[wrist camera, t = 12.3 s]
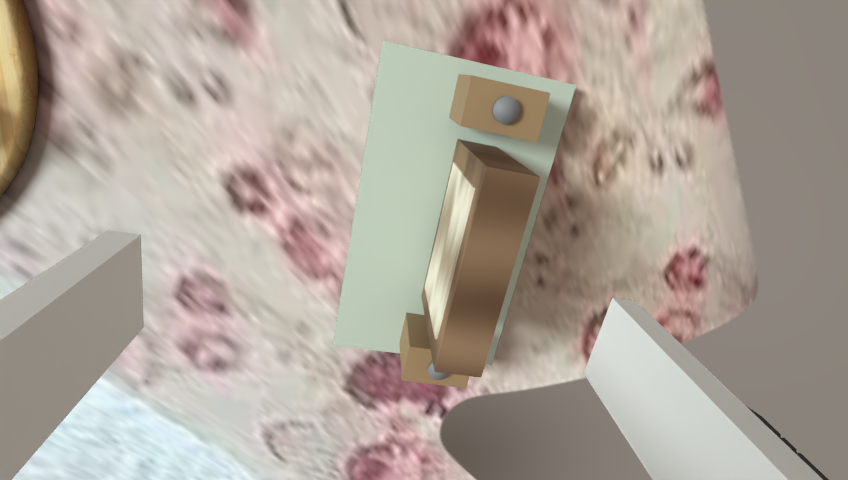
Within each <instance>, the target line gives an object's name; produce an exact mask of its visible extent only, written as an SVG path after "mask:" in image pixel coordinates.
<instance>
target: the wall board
mask: <svg viewBox="0 0 848 480" xmlns="http://www.w3.org/2000/svg"><path fill="white" fill-rule="evenodd" d="M575 88H576V85H573V84H569V83H564V82H560V81H556V80H551V79H547V78H543V77H538V76H534V75H530V74H525V73H521V72H517V71H512V70H508V69H504V68H499V67H495V66H491V65H486V64H482V63H477V62H473V61H469V60H464V59H460V58H456V57H451V56H447V55H443V54H438V53H434V52H430V51H425V50H421V49H417V48H412V47H408V46H404V45H399V44H395V43H391V42H386V41H382V47H381V53H380V60H379V66H378V72H377V78H376V84H375V90H374V96H373V102H372V108H371V115H370V121H369V127H368V133H367V139H366V145H365V151H364V157H363V163H362V170H361V176H360V182H359V188H358V194H357V200H356V206H355V212H354V219H353V225H352V231H351V237H350V243H349V249H348V255H347V261H346V267H345V274H344V280H343V286H342V292H341V298H340V304H339V310H338V316H337V323H336V329H335V335H334V341H333V345H338V346H346V347H354V348H362V349H370V350H378V351H385V352H393V353H400V359H401V374H402V381H410V382H419V383H427V384H436V385H444V386H453V387H462V388H466V386H467V383H468V379H469V376H465V375H457V374H448V373H440V372H434V366H433V360H432V355H431V349H430V343H429V337H428V332H427V326H426V320H425V315H424V309H423V303H422V298H421V295H422V291H423V287H424V282H425V278H426V273H427V269H428V265H429V260H430V256H431V252H432V247H433V243H434V239H435V234H436V230H437V225H438V221H439V217H440V212H441V208H442V204H443V199H444V195H445V191H446V186H447V182H448V177H449V173H450V169H451V164H452V160H453V156H454V151H455V147H456V142H457V139H461V140H466V141H470V142H475V143H480V144H485V145H490V146H495V147H498V148H499V149H500V150H502V151H503V152H505V153H506V154H508V155H509V156H511V157H512V158H514V159H515V160H516V161H518V162H519V163H521V164H522V165H524V166H525V167H527V168H528V169H529V170H531V171H532V172H534V173H535V174H537V175H538V176H540V181H539V184H538V187H537V191H536V194H535V197H534V201H533V204H532V207H531V211H530V214H529V218H528V221H527V224H526V228H525V231H524V234H523V238H522V241H521V244H520V248H519V251H518V255H517V258H516V261H515V265H514V268H513V271H512V275H511V278H510V281H509V285H508V288H507V292H506V295H505V298H504V302H503V305H502V308H501V312H500V315H499V318H498V322H497V325H496V329H495V332H494V335H493V339H492V342H491V345H490V349H489V352H488V355H487V359H486V362H485V364H489V365H492V362H493V358H494V355H495V352H496V349H497V345H498V342H499V339H500V335H501V332H502V329H503V325H504V322H505V319H506V316H507V312H508V309H509V306H510V302H511V299H512V296H513V292H514V289H515V286H516V283H517V279H518V276H519V273H520V269H521V266H522V263H523V259H524V256H525V253H526V250H527V246H528V243H529V240H530V236H531V233H532V230H533V226H534V223H535V220H536V217H537V213H538V210H539V207H540V203H541V200H542V197H543V193H544V190H545V187H546V184H547V180H548V177H549V174H550V170H551V167H552V164H553V160H554V157H555V154H556V151H557V147H558V144H559V141H560V137H561V134H562V131H563V127H564V124H565V121H566V118H567V114H568V111H569V108H570V104H571V101H572V98H573V94H574V91H575Z"/></svg>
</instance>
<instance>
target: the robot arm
mask: <svg viewBox="0 0 848 480" xmlns="http://www.w3.org/2000/svg"><path fill="white" fill-rule="evenodd" d="M143 327H144V324H143V291H142V258H141V235H139V234H131V233H124V232H116V231H109V230H108V231H106V232H105V233H103V234H102V235H100V236H99V237H97V238H96V239H94V240H93V241H91V242H89V243H88V244H86V245H85V246H83V247H82V248H80V249H79V250H77V251H76V252H74V253H72V254H71V255H69V256H68V257H66V258H65V259H63V260H62V261H60V262H59V263H57V264H55V265H54V266H52V267H51V268H49V269H48V270H46V271H45V272H43V273H42V274H40V275H38V276H37V277H35V278H34V279H32V280H31V281H29V282H28V283H26V284H25V285H23V286H21V287H20V288H18V289H17V290H15V291H14V292H12V293H11V294H9V295H7V296H6V297H4V298H3V299H1V300H0V480H12V478H13V477H14V476H15V475H16V474H17V473H18V472H19V470H20V469H21V468H22V467H23V466H24V465H25V463H26V462H27V461H28V460H29V459H30V458H31V457H32V455H33V454H34V453H35V452H36V451H37V450H38V448H39V447H40V446H41V445H42V444H43V443H44V442H45V440H46V439H47V438H48V437H49V436H50V435H51V433H52V432H53V431H54V430H55V429H56V428H57V426H58V425H59V424H60V423H61V422H62V421H63V420H64V418H65V417H66V416H67V415H68V414H69V413H70V411H71V410H72V409H73V408H74V407H75V406H76V405H77V403H78V402H79V401H80V400H81V399H82V398H83V396H84V395H85V394H86V393H87V392H88V391H89V390H90V388H91V387H92V386H93V385H94V384H95V383H96V381H97V380H98V379H99V378H100V377H101V376H102V374H103V373H104V372H105V371H106V370H107V369H108V368H109V366H110V365H111V364H112V363H113V362H114V361H115V359H116V358H117V357H118V356H119V355H120V354H121V353H122V351H123V350H124V349H125V348H126V347H127V346H128V344H129V343H130V342H131V341H132V340H133V339H134V338H135V336H136V335H137V334H138V333H139V332H140V331H141V329H142V328H143ZM584 374H585V376H586V377H587V379H588V380H589V382H590V384H591V385H592V387H593V388H594V390H595V391H596V393H597V394H598V396H599V397H600V399H601V401H602V402H603V404H604V405H605V407H606V408H607V410H608V411H609V413H610V414H611V416H612V418H613V419H614V421H615V422H616V424H617V425H618V427H619V428H620V430H621V432H622V433H623V435H624V436H625V438H626V439H627V441H628V442H629V444H630V445H631V447H632V449H633V450H634V452H635V453H636V455H637V456H638V458H639V459H640V461H641V462H642V464H643V465H644V467H645V469H646V470H647V472H648V473H649V475H650V476H651V478H652V479H653V480H828V479H827V478H826V477H825V476H824V475H823V474H822V473H821V472H820V471H819V470H818V469H817V468H816V467H815V466H814V465H812V464H811V463H810V462H809V461H808V460H807V459H806V458H805V457H804V456H803V455H802V454H800V453H797V452H796V449H795V448H794V447H793V446H792V445H791V444H790V443H789V442H788V441H787V440H786V439H785V438H781V437H780V433H778V432H777V431H776V430H775V429H774V428H773V427H772V426H771V425H770V424H769V423H768V422H767V421H766V420H765V419H764V418H763V417H762V416H760V415H759V414H757V413H756V412H754V411H753V410H751V409H750V408H748V407H747V406H745V405H744V404H743V403H742V402H741V401H740V400H739V399H738V398H737V397H736V396H735V395H734V394H732V392H731V391H730V390H728V389H727V388H726V387H725V386H724V385H723V384H722V383H721V382H720V381H719V380H718V379H717V378H716V377H715V376H714V375H713V374H712V373H711V372H710V371H709V370H708V369H706V368H705V367H704V366H703V365H702V364H701V363H700V362H699V361H698V360H697V359H696V358H695V357H694V356H693V355H692V354H690V352H688V351H687V349H686V348H684V347H683V346H682V345H681V344H680V343H679V342H678V341H677V340H676V339H675V338H674V337H673V336H672V335H671V334H670V333H669V332H668V331H667V330H666V329H665V328H663V327H662V326H661V325H660V324H659V323H658V322H657V321H656V320H655V319H654V318H653V317H652V316H651V315H650V314H649V313H648V312H647V311H646V310H645V309H644V308H643V307H641V306H640V305H639V304H638V303H637V302H636V301H632V300H625V299H617V298H612V300H611V303H610V306H609V308H608V311H607V313H606V316H605V319H604V321H603V324H602V327H601V329H600V332H599V334H598V337H597V340H596V342H595V345H594V348H593V350H592V353H591V355H590V358H589V361H588V363H587V366H586V369H585V371H584Z"/></svg>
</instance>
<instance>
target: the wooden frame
mask: <svg viewBox="0 0 848 480" xmlns="http://www.w3.org/2000/svg"><path fill="white" fill-rule="evenodd" d="M539 181H540V176H538V175H537V174H535V173H534V172H532V171H531V170H529V169H528V168H527V167H525V166H524V165H522V164H521V163H519V162H518V161H516V160H515V159H514V158H512V157H511V156H509V155H508V154H506V153H505V152H503V151H502V150H500V149H499V148H498V147H495V146H490V145H485V144H480V143H475V142H470V141H466V140H461V139H457V142H456V147H455V151H454V156H453V160H452V164H451V169H450V173H449V177H448V182H447V186H446V191H445V195H444V199H443V204H442V208H441V212H440V217H439V221H438V225H437V230H436V234H435V239H434V243H433V247H432V252H431V256H430V260H429V265H428V269H427V273H426V278H425V282H424V287H423V291H422V295H421V298H422V303H423V309H424V315H425V320H426V326H427V332H428V337H429V343H430V349H431V355H432V360H433V366H434V372H440V373H448V374H457V375H465V376H473V377H481V376H482V372H483V369H484V366H485V362H486V359H487V355H488V352H489V349H490V345H491V342H492V339H493V335H494V332H495V329H496V325H497V322H498V318H499V315H500V312H501V308H502V305H503V302H504V298H505V295H506V292H507V288H508V285H509V281H510V278H511V275H512V271H513V268H514V265H515V261H516V258H517V255H518V251H519V248H520V244H521V241H522V238H523V234H524V231H525V228H526V224H527V221H528V218H529V214H530V211H531V207H532V204H533V201H534V197H535V194H536V191H537V187H538V184H539Z"/></svg>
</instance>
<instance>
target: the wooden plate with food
mask: <svg viewBox="0 0 848 480" xmlns="http://www.w3.org/2000/svg"><path fill="white" fill-rule="evenodd" d="M37 102H38V68H37V60H36V54H35V45H34V40H33V36H32V32H31V28H30V24H29V20H28V15H27V12H26V9H25V7H24V4H23V1H22V0H0V197H1V196H2V194H3V193H4V192H5V190H6V189H7V188H8V186H9V185H10V184H11V182H12V181H13V179H14V177H15V176H16V174H17V173H18V171H19V169H20V168H21V166H22V164H23V162H24V159H25V156H26V154H27V151H28V148H29V145H30V142H31V138H32V134H33V130H34V124H35V119H36V112H37Z"/></svg>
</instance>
